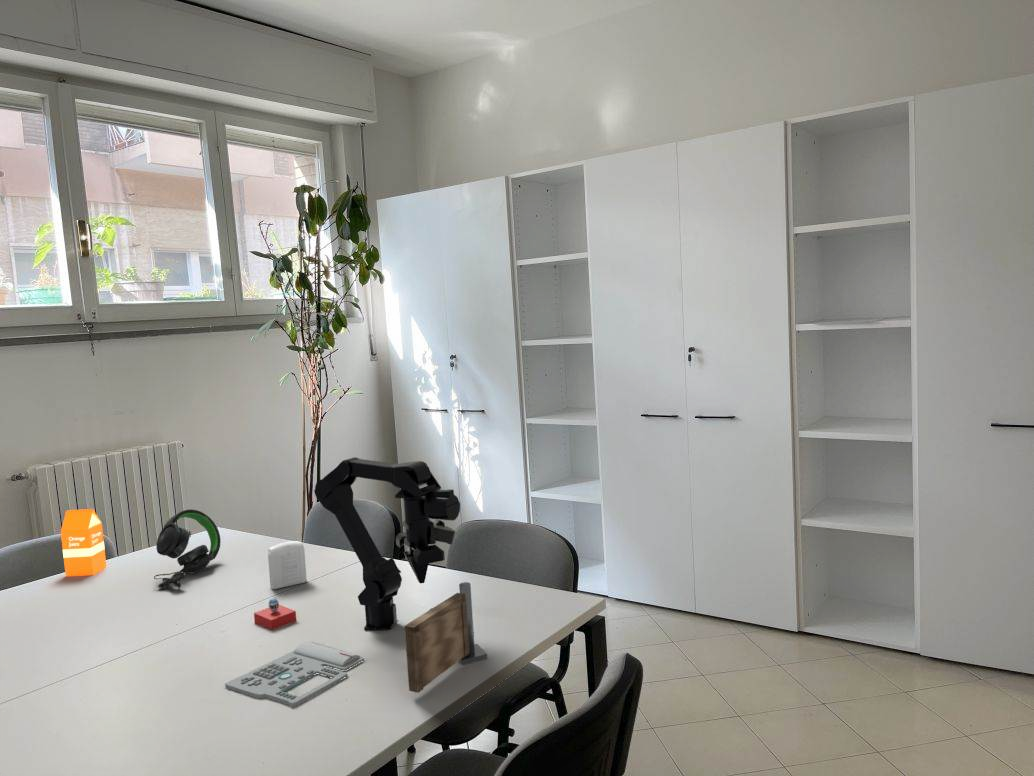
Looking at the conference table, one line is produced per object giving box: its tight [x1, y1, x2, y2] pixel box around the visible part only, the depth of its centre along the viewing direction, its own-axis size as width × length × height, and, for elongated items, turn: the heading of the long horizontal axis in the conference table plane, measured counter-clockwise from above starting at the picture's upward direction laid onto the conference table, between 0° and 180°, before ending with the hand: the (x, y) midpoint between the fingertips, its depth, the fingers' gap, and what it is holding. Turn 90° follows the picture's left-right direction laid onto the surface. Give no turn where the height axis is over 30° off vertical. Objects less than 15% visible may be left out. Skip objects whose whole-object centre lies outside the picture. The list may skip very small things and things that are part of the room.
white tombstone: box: [267, 540, 308, 590], centre depth 218 cm, size 10×4×12 cm, turn 123°
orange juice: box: [60, 508, 107, 577], centre depth 241 cm, size 8×9×20 cm
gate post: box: [458, 581, 489, 666], centre depth 164 cm, size 6×6×16 cm
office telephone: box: [224, 641, 365, 708], centre depth 161 cm, size 23×3×20 cm
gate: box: [404, 592, 470, 693], centre depth 155 cm, size 18×2×13 cm, turn 151°
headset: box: [153, 508, 221, 590], centre depth 232 cm, size 18×14×29 cm
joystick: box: [253, 597, 297, 631], centre depth 191 cm, size 8×7×6 cm
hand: (421, 582), depth 178 cm, fingers closed
